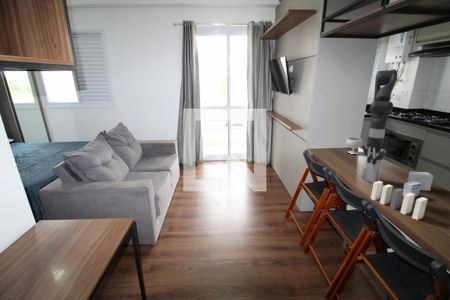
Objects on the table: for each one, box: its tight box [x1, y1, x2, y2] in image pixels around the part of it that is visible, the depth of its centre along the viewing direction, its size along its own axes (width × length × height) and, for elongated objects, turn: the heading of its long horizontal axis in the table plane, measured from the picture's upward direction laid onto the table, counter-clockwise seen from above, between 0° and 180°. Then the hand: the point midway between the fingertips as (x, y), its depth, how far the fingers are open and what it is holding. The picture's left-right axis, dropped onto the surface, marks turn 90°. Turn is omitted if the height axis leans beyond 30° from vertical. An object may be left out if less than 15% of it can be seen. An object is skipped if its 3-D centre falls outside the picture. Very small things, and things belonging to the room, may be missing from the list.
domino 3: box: [389, 188, 404, 210], centre depth 121 cm, size 2×5×11 cm, turn 113°
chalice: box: [345, 136, 364, 156], centre depth 213 cm, size 14×14×15 cm
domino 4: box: [399, 192, 416, 215], centre depth 117 cm, size 2×5×11 cm, turn 113°
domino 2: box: [379, 184, 394, 206], centre depth 126 cm, size 2×5×11 cm, turn 113°
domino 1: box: [370, 180, 384, 201], centre depth 131 cm, size 2×5×11 cm, turn 113°
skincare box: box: [406, 171, 434, 191], centre depth 142 cm, size 10×6×10 cm, turn 73°
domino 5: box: [411, 196, 428, 221], centre depth 112 cm, size 2×5×11 cm, turn 113°
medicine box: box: [402, 181, 421, 198], centre depth 133 cm, size 8×4×9 cm, turn 106°
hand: (371, 163), depth 132 cm, fingers closed
